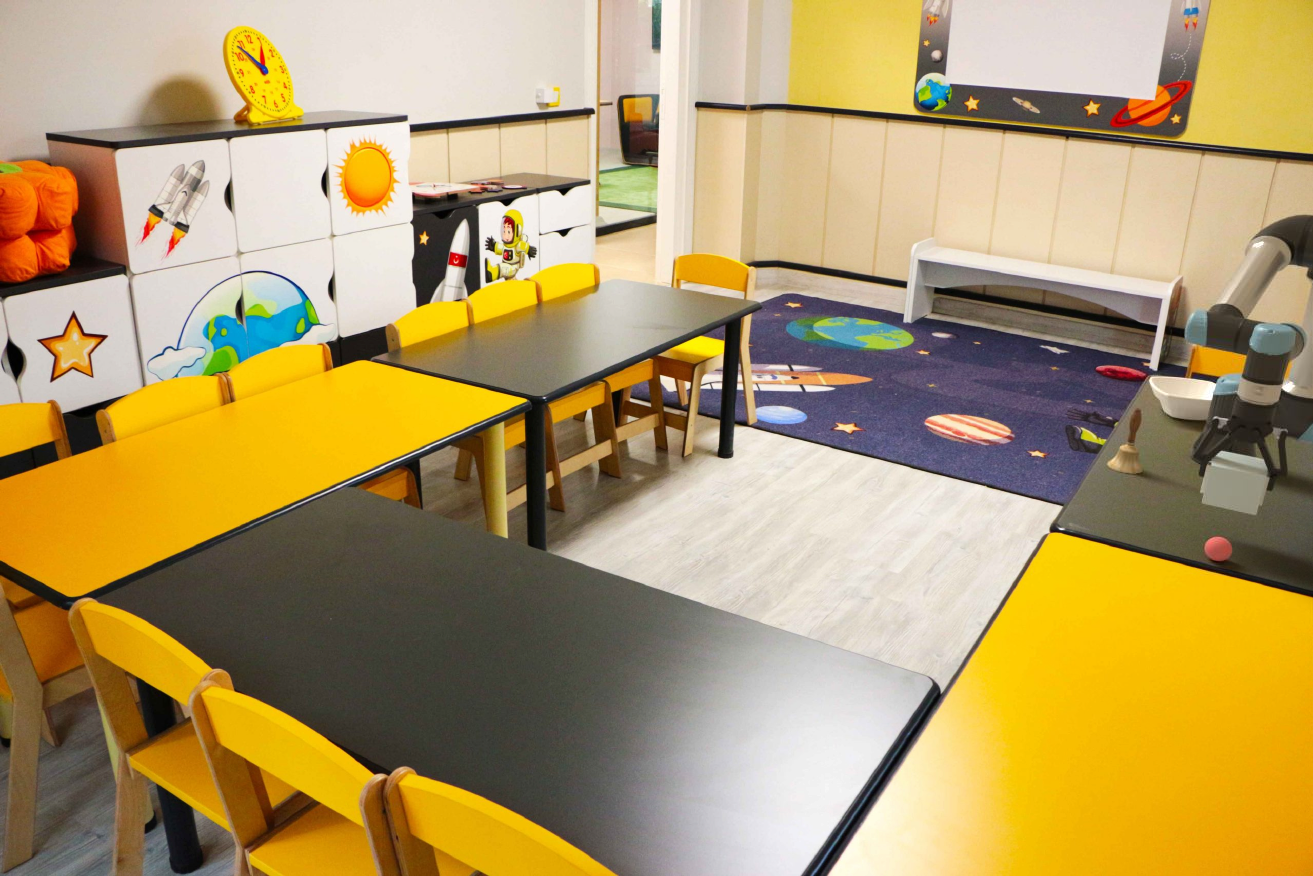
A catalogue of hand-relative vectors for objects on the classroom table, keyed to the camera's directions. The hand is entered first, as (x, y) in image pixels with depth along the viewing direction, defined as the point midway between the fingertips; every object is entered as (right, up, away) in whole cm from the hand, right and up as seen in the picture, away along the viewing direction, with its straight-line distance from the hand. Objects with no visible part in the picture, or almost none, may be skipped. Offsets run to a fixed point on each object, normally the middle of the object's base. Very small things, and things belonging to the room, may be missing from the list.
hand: (1230, 496), depth 217 cm
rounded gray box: (0, -1, 0) cm, 1 cm away
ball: (-6, -10, -7) cm, 14 cm away
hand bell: (-4, +5, +40) cm, 40 cm away
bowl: (+31, +19, +80) cm, 88 cm away
